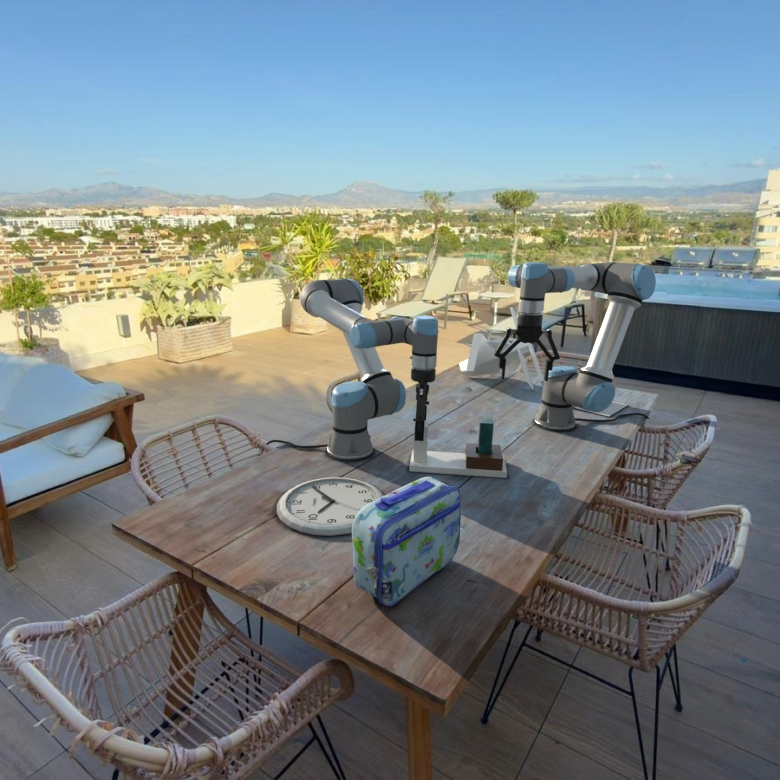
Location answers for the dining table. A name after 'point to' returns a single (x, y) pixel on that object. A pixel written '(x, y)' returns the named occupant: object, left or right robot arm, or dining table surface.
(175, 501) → the dining table surface
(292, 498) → the wall clock
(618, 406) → the invitation card
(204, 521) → the dining table surface
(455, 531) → the lunch box
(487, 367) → the white plastic object
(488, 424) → the peg
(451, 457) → the peg board
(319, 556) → the dining table surface
